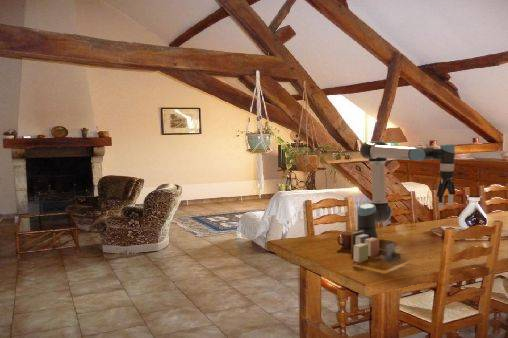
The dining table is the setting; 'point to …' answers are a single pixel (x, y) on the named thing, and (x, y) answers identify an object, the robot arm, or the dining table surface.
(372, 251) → the rust book
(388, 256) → the bookend
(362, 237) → the blue-grey block
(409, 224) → the dining table surface
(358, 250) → the olive book
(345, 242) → the mug
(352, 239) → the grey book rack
